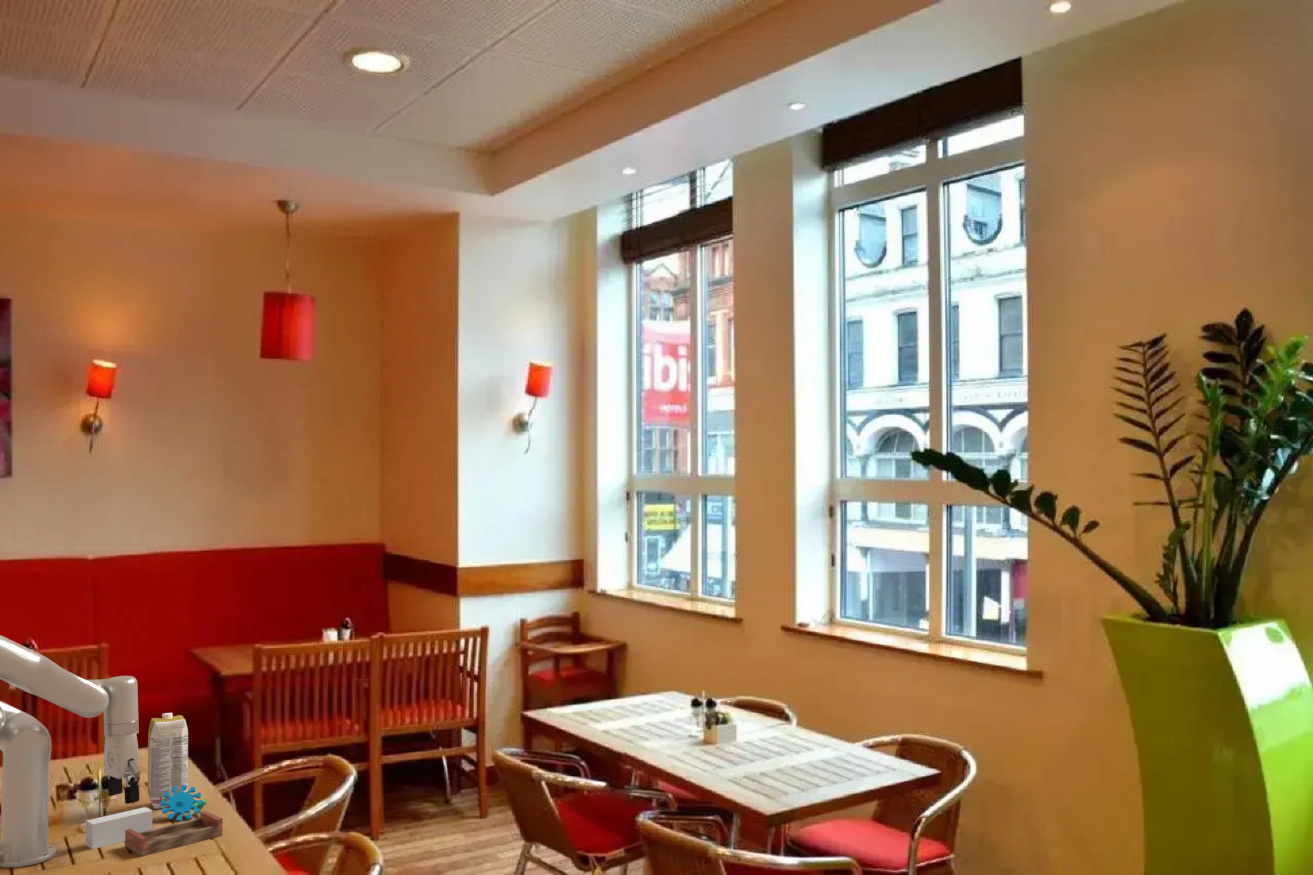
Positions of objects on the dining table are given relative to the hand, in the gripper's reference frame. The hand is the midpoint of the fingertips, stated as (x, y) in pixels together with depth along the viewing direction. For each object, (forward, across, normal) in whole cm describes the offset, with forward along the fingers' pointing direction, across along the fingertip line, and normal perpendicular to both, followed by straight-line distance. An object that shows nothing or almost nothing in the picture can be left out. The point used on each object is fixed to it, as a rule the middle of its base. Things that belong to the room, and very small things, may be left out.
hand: (123, 798), depth 268 cm
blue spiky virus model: (+11, -5, +17) cm, 21 cm away
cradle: (+10, +11, +7) cm, 16 cm away
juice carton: (+10, -19, +19) cm, 29 cm away
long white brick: (+10, 0, -1) cm, 10 cm away
